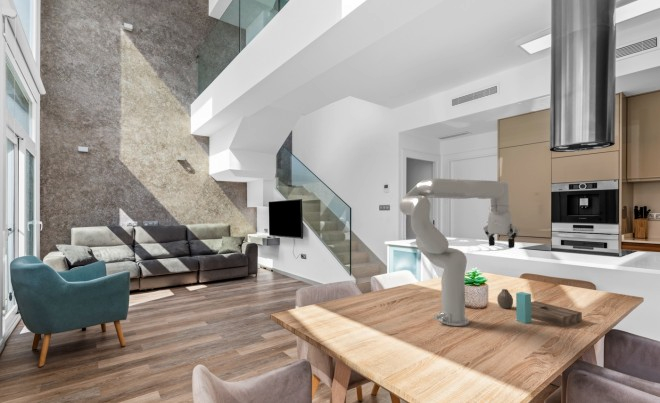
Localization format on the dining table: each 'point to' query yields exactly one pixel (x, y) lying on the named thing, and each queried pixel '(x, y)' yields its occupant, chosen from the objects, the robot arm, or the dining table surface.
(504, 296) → the vase
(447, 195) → the robot arm
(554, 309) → the socket block
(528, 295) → the peg
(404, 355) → the dining table surface
